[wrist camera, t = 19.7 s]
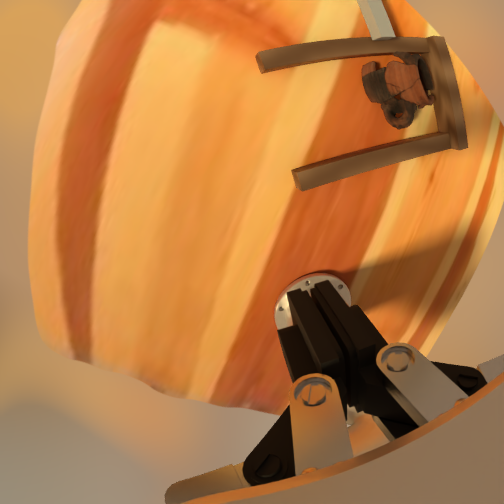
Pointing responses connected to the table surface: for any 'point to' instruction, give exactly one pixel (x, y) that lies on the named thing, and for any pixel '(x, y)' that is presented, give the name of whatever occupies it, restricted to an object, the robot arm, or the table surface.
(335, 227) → the table surface
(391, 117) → the pottery mug
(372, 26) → the gray rectangular bar
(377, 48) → the frame
